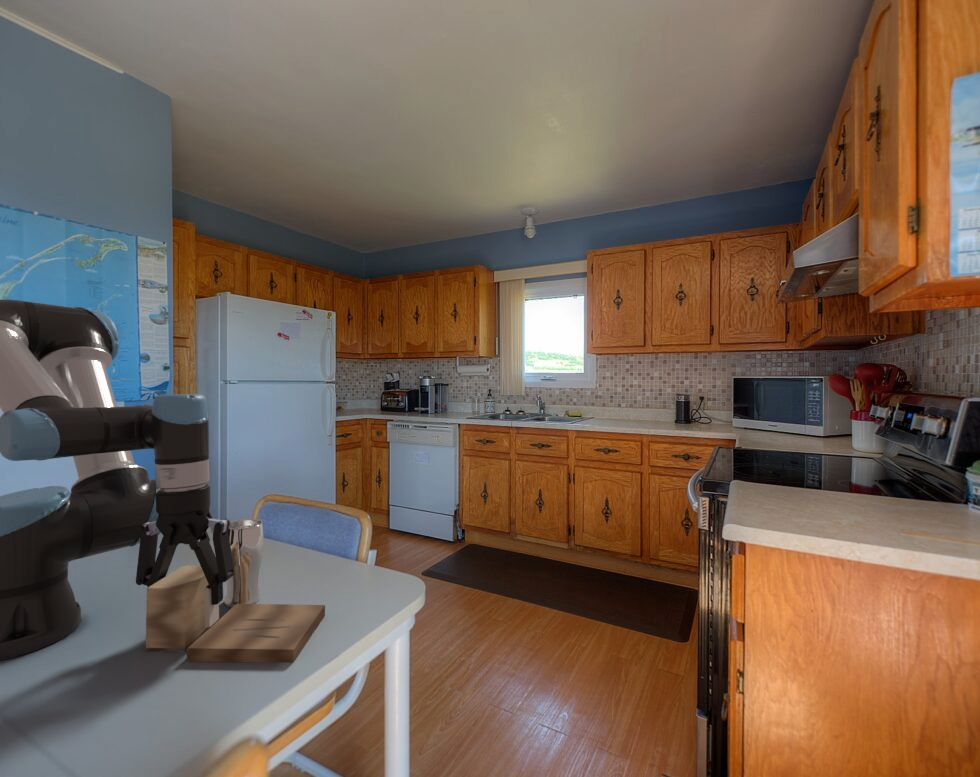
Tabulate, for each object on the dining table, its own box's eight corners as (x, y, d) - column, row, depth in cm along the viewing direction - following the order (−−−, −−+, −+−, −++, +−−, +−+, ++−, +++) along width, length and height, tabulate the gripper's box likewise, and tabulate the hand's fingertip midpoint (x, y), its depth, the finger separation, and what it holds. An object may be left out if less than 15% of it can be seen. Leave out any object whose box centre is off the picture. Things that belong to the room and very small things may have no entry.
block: (145, 651, 72) (146, 588, 72) (183, 621, 81) (183, 565, 81) (184, 652, 72) (185, 588, 72) (217, 622, 81) (218, 565, 81)
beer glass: (245, 611, 85) (246, 530, 85) (212, 606, 86) (214, 527, 86) (270, 594, 92) (271, 519, 91) (240, 590, 93) (241, 517, 93)
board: (187, 661, 69) (187, 648, 69) (236, 614, 83) (236, 603, 83) (293, 662, 70) (293, 649, 70) (324, 615, 84) (325, 604, 84)
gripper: (102, 493, 72) (107, 638, 72) (233, 490, 72) (237, 633, 73) (138, 483, 80) (142, 614, 80) (256, 480, 80) (259, 610, 80)
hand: (187, 623), depth 76 cm, fingers open, 7 cm apart
